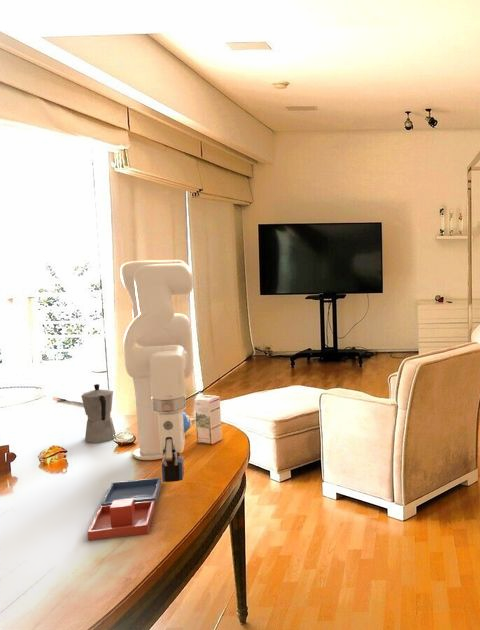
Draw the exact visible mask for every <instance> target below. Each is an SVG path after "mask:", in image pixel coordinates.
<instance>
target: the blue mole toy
mask: <svg viewBox="0 0 480 630" xmlns="http://www.w3.org/2000/svg"><path fill="white" fill-rule="evenodd" d="M182 412H183V422H184V434H186V433H187V432H188V430H189V429H191V427H192V425H194V424H196V417H195V418H192V417H190V416H189V415H188V414H187V413H186V412H185V411H184V410H183V411H182Z"/></svg>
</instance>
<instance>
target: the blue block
mask: <svg viewBox="0 0 480 630" xmlns="http://www.w3.org/2000/svg"><path fill="white" fill-rule="evenodd" d="M174 458H175V457H174ZM177 464H179V477H180V479H179V481H178V482H181V481H183V480H184V475H185V468H184V456H183V455H180V456H177ZM164 465H165V458H163V459H162V461H161V481H162V483H166V482H165V471H164Z"/></svg>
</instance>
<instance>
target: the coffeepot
mask: <svg viewBox="0 0 480 630" xmlns="http://www.w3.org/2000/svg"><path fill="white" fill-rule="evenodd" d="M93 387H94V390H89V391H86V392H83V393H82V394H81V396H80V397H81V400H82V404H83V408H84V412H85V415H86V416H87V420H86V427H85V434H84V435H85V437H84V441H85V442H87V443H94V444H95V443H98V444H99V443H104V442H109V441H111V440H113V439H116V435H117V434H116V430H115V426H114V422H113V418H112V417H111V412H112V409H113V408H112V406H113V395H114V391H113V390H110V389H100V384H99V383H95V384H93ZM115 434H116V435H115ZM113 435H114V436H115V437H114V436H113Z"/></svg>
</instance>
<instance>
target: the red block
mask: <svg viewBox="0 0 480 630" xmlns="http://www.w3.org/2000/svg"><path fill="white" fill-rule="evenodd" d="M110 517H111V527H113V526H122V525H131V524H133V521H134V518H135V506H134V498H132V499H122V500H113V502H112V505H111V507H110Z"/></svg>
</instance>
